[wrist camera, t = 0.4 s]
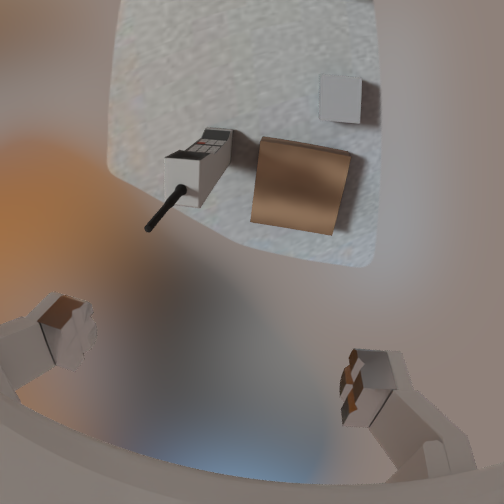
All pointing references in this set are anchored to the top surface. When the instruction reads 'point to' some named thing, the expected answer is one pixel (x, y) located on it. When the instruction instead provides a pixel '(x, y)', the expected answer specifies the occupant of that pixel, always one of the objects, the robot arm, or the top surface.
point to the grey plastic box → (340, 98)
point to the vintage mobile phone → (194, 171)
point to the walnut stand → (299, 185)
